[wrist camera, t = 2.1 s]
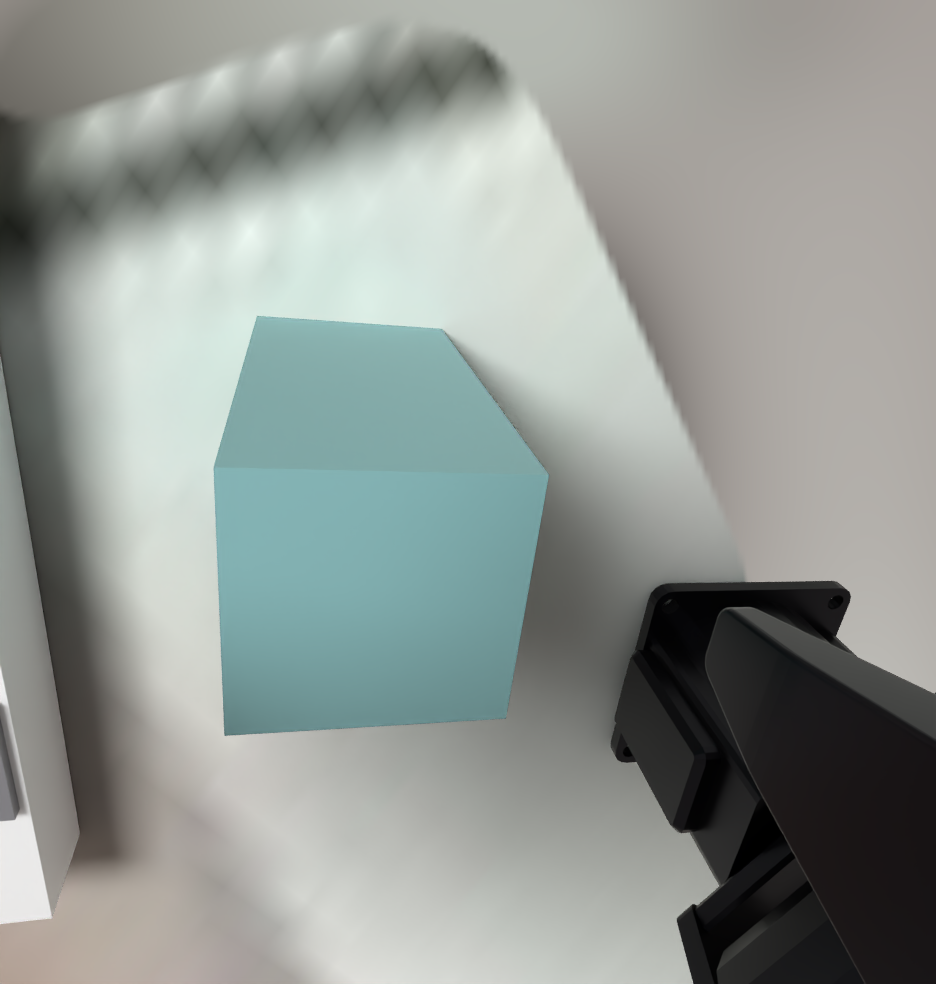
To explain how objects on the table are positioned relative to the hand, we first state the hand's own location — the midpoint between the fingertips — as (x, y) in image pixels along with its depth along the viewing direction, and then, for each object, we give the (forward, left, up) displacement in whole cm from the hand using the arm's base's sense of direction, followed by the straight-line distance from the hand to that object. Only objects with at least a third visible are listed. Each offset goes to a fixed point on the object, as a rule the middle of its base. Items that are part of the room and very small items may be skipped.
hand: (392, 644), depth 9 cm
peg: (0, 0, -9) cm, 9 cm away
